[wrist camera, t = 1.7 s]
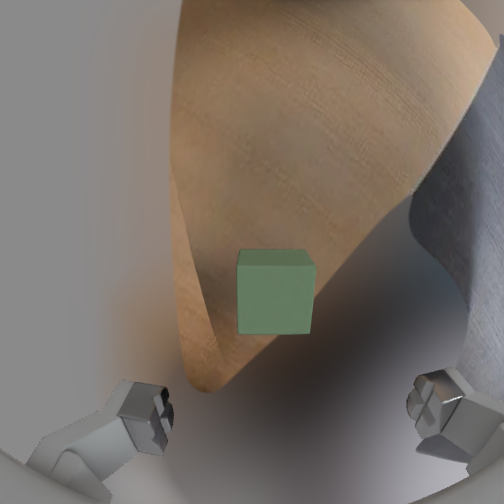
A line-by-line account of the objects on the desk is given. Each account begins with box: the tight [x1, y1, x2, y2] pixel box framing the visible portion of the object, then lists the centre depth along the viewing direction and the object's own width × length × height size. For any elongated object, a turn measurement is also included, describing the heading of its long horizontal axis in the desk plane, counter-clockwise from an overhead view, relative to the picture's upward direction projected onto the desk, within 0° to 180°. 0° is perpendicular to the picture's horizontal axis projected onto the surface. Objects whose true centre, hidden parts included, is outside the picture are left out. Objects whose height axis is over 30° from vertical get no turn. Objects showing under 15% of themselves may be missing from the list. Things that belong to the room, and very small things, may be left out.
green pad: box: [236, 249, 316, 335], centre depth 16 cm, size 4×4×3 cm
